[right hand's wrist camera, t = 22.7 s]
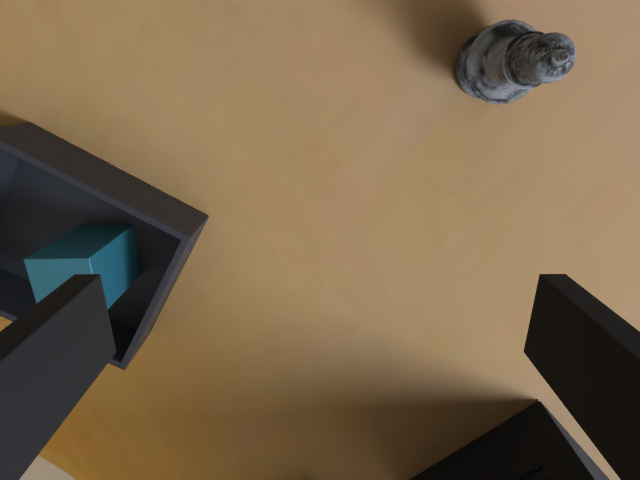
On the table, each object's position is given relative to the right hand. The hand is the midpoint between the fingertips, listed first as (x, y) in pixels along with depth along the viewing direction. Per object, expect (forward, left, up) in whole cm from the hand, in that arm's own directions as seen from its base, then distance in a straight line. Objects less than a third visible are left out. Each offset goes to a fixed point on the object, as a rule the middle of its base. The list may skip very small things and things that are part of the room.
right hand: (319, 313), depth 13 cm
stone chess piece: (-8, +14, -27) cm, 31 cm away
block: (+8, -20, -26) cm, 34 cm away
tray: (+4, -28, -27) cm, 39 cm away
